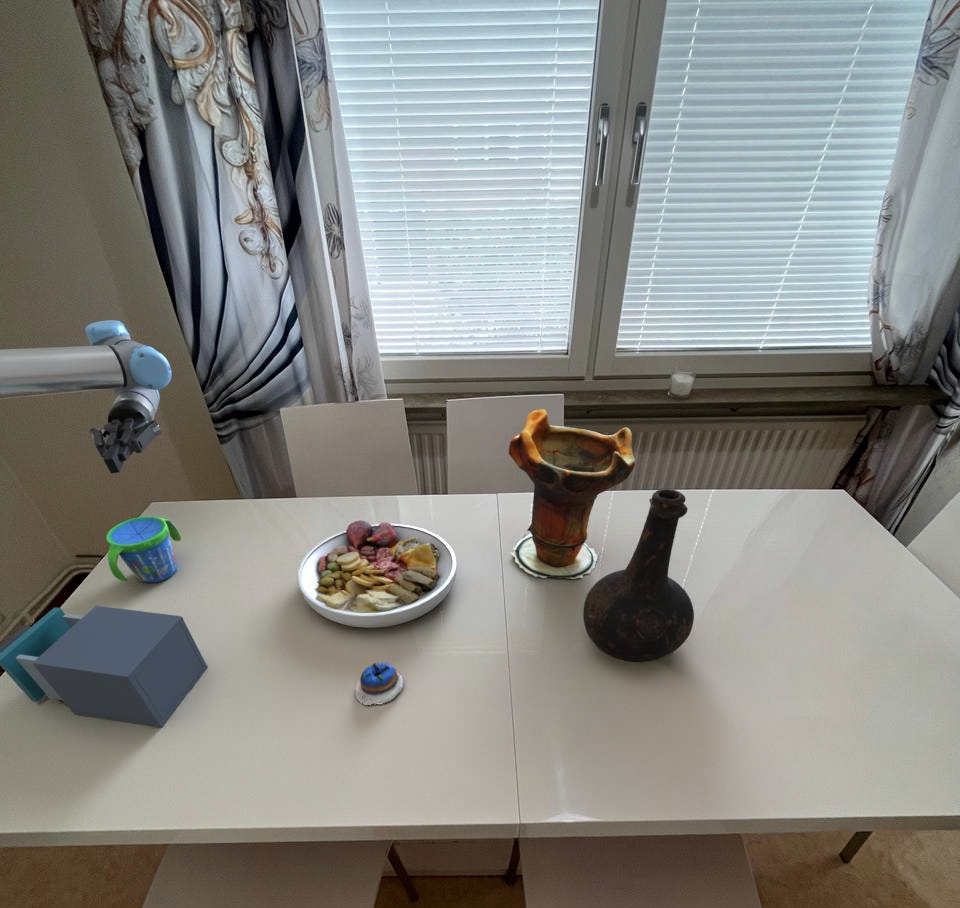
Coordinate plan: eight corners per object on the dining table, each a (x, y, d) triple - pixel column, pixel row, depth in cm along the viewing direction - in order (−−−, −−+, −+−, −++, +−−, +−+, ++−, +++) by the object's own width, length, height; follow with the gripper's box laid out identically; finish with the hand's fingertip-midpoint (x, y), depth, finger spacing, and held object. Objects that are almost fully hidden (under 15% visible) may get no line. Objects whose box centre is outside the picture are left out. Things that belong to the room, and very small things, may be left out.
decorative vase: (618, 591, 104) (649, 451, 84) (500, 583, 106) (504, 445, 86) (611, 533, 119) (636, 404, 100) (508, 527, 121) (513, 399, 101)
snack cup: (145, 602, 101) (120, 557, 94) (106, 588, 105) (80, 544, 98) (206, 559, 112) (188, 516, 105) (170, 548, 115) (150, 505, 108)
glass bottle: (582, 676, 87) (610, 527, 68) (575, 607, 100) (597, 465, 81) (692, 682, 86) (753, 532, 67) (671, 611, 99) (717, 468, 80)
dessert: (390, 659, 89) (393, 652, 83) (407, 694, 88) (412, 689, 83) (345, 679, 86) (346, 673, 81) (363, 716, 86) (364, 712, 80)
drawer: (-3, 695, 83) (-44, 653, 77) (52, 645, 91) (20, 602, 85) (110, 713, 81) (77, 670, 74) (156, 659, 89) (131, 617, 82)
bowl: (483, 606, 100) (483, 572, 95) (327, 657, 90) (317, 623, 85) (422, 530, 120) (419, 499, 114) (287, 566, 110) (277, 533, 104)
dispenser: (74, 714, 82) (31, 663, 74) (128, 656, 91) (95, 605, 83) (161, 728, 80) (127, 676, 72) (208, 667, 89) (182, 616, 81)
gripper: (171, 430, 118) (158, 479, 102) (107, 438, 115) (83, 490, 99) (156, 395, 113) (140, 440, 96) (89, 403, 110) (60, 451, 94)
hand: (111, 466), depth 98 cm, fingers closed
